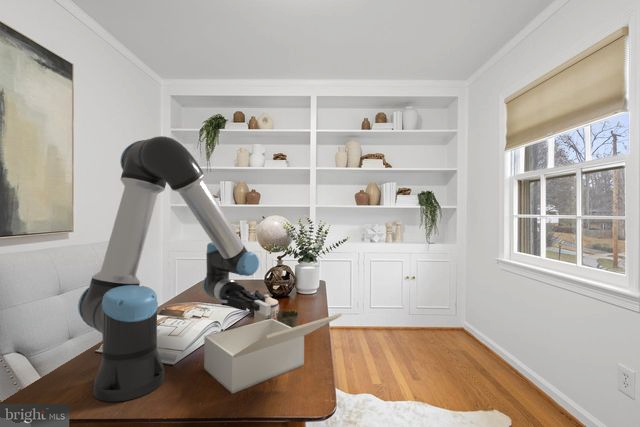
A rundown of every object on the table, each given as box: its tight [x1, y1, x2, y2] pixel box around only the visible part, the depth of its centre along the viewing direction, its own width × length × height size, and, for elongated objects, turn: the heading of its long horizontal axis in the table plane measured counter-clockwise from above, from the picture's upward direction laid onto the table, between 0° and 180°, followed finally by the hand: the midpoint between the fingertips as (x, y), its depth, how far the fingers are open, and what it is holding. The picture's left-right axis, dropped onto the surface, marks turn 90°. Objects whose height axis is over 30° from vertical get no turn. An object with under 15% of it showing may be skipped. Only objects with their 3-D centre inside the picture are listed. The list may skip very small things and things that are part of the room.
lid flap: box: [233, 313, 343, 358], centre depth 80 cm, size 22×16×1 cm
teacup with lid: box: [253, 293, 280, 323], centre depth 125 cm, size 12×9×12 cm
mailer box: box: [203, 319, 305, 394], centre depth 92 cm, size 22×16×9 cm
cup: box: [276, 309, 299, 328], centre depth 114 cm, size 8×7×8 cm
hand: (268, 310), depth 91 cm, fingers closed
